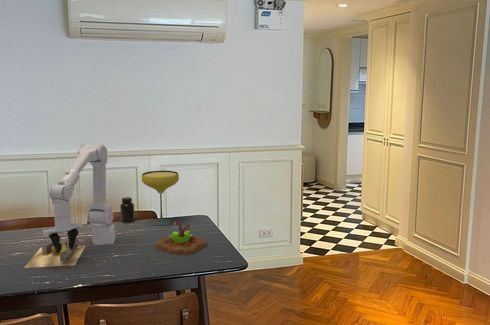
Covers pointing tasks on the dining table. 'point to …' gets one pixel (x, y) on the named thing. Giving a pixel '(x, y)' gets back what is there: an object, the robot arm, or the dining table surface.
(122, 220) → the supplement bottle
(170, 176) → the cocktail glass
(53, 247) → the brown cylinder
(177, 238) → the plant
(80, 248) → the board
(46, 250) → the gray block
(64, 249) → the press lever
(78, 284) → the dining table surface
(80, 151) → the robot arm
